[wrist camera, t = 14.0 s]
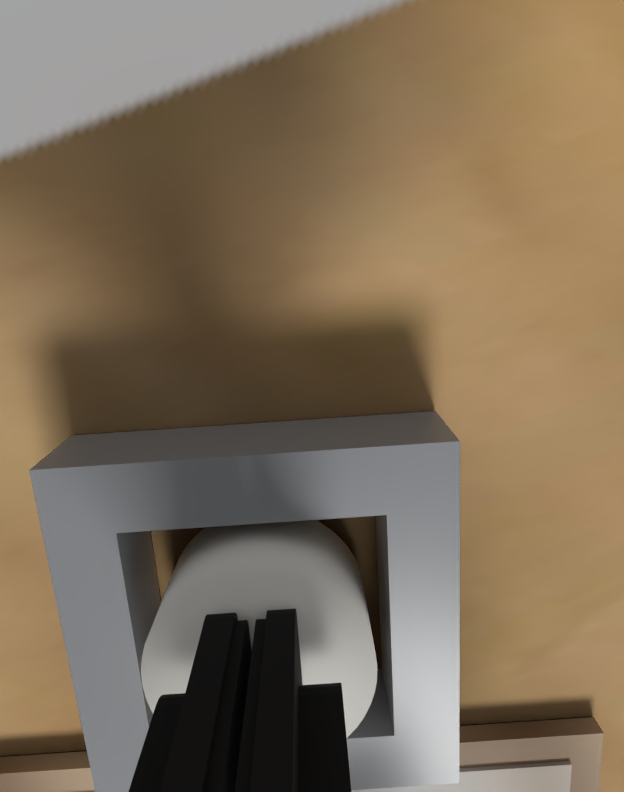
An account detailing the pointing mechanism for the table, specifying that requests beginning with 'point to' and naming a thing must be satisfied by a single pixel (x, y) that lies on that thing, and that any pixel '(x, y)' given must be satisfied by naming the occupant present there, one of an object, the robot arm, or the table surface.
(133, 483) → the grey square frame
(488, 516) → the table surface
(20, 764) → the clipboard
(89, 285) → the table surface
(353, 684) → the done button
